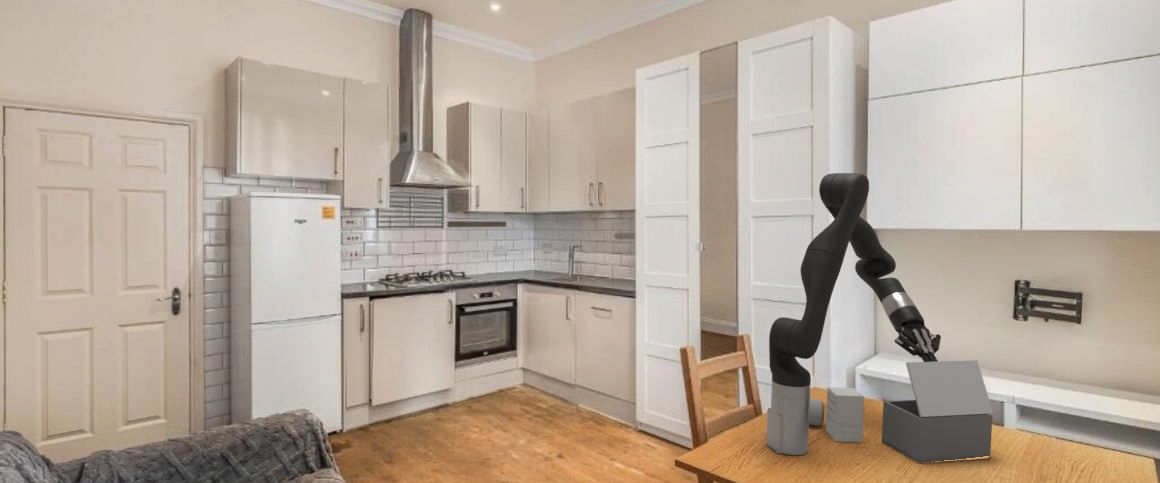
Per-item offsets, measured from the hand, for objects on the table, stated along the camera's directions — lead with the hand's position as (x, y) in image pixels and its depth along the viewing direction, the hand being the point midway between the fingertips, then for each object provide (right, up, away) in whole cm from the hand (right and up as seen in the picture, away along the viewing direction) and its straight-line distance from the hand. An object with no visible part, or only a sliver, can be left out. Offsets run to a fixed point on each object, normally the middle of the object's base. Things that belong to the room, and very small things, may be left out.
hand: (934, 368), depth 146 cm
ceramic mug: (-26, -20, +19) cm, 37 cm away
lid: (+1, -4, -4) cm, 6 cm away
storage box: (0, -21, 0) cm, 21 cm away
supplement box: (-20, -21, +8) cm, 30 cm away
